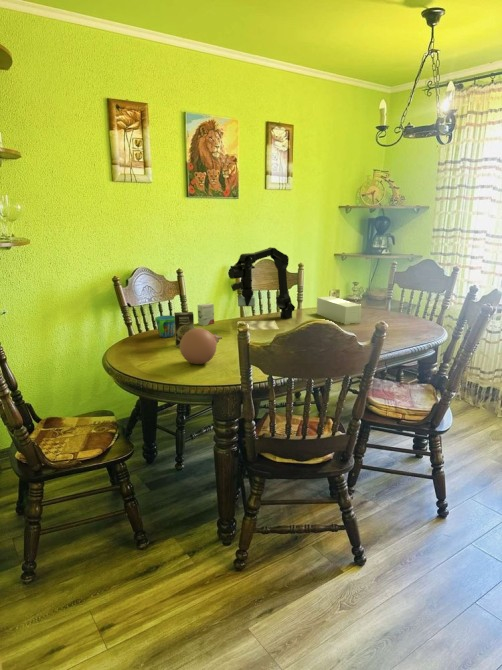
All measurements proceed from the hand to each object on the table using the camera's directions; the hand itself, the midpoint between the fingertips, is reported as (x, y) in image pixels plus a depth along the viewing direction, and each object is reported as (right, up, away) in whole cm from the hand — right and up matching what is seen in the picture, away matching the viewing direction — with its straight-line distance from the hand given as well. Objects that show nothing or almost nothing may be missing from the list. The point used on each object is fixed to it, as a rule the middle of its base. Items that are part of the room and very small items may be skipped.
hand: (246, 305), depth 248 cm
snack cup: (-42, -17, -13) cm, 47 cm away
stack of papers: (+55, -7, +26) cm, 61 cm away
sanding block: (0, 0, 0) cm, 0 cm away
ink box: (-24, -10, +12) cm, 29 cm away
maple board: (+6, -12, +4) cm, 14 cm away
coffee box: (-30, -22, -29) cm, 47 cm away
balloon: (-18, -29, -55) cm, 64 cm away
